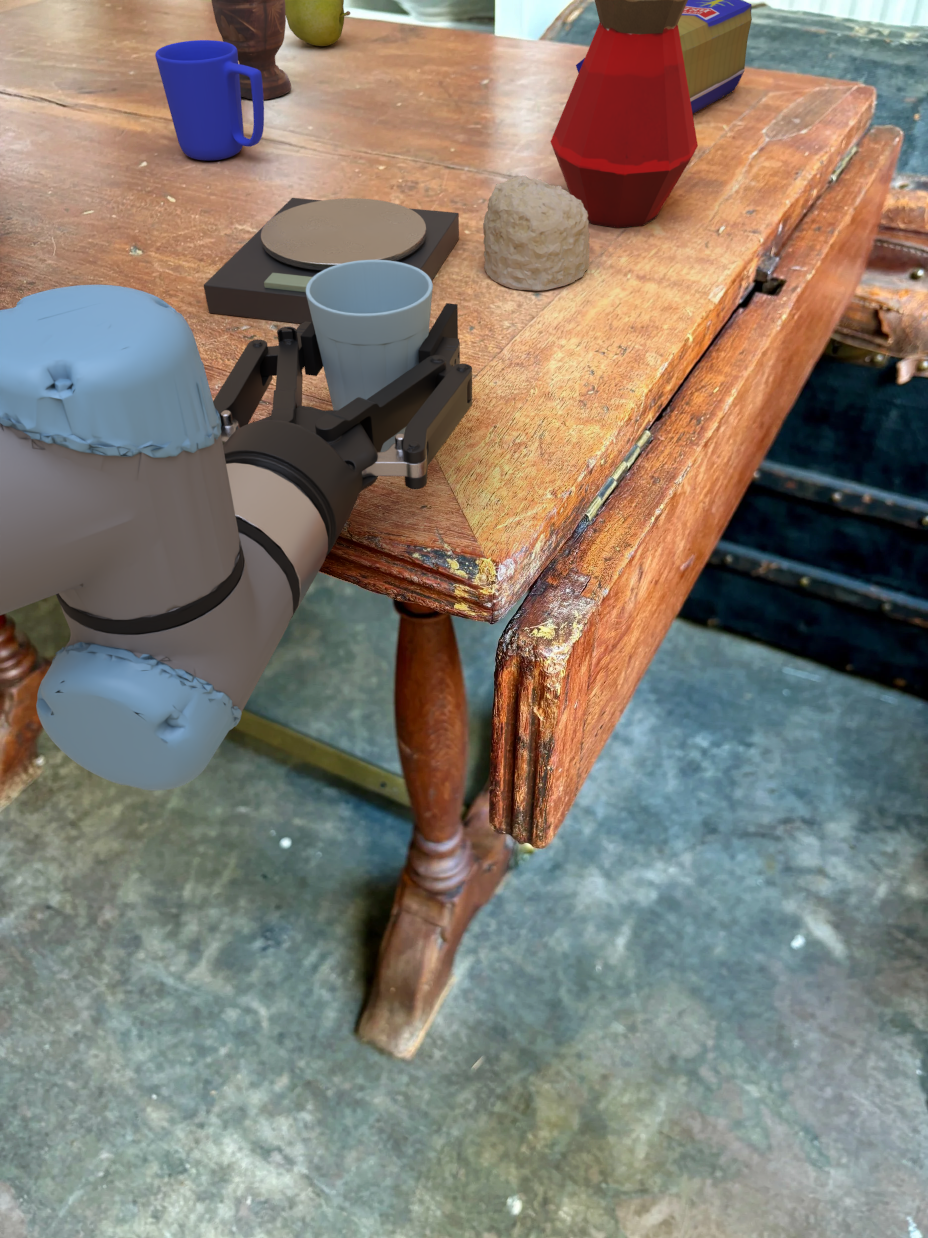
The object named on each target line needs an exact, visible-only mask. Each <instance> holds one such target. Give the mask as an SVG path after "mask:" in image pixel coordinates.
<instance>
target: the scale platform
mask: <svg viewBox="0 0 928 1238" xmlns="http://www.w3.org/2000/svg"><path fill="white" fill-rule="evenodd" d="M409 208H410V207H409ZM409 208H408V207H407V206H404V205H401V204H398V203H395V202H390V201H386V200H379V199H373V198H362V197H361V198H358V197H357V198H354V197H353V198H352V197H349V198H348V197H346V198H332V199H323V201H317V202H311V203H307V204H303V205H299V206H296V207H293V208H291V209H288V210H285V211H283V212H281V213H279V214H277V215H276V216H274V215H273V216H274V217H273V216H272V217H273V218H272V217H271V218H270V219H268V221H266V223H265V224H264V225H263V226H264V227H263V226H262V227H263V229H262V231H261V240H262V245H263V247H264V249H265V251H266V252H267V253H268V254H269V255H271V256H272V257H273V258H275V259H277V260H279V261H281V262H284V263H286V264H289V265H292V266H296V267H301V268H306V269H313V270H325V269H327V268H330V267H332V266H335V265H338V264H342V263H347V262H353V261H360V260H388V261H397V260H400V259H402V258H404V257H406V256H408V255H410V254H411V253H413V252H415V251H416V250H417V249H418V248H419V247H420V246H421V245H422V244H423V242H424V240H425V238H426V224H425V222H424V220H423V219H422V217H421V216H420V215H418V214H417V213H416V212H414V211H413V210H411V209H412V208H410V209H409Z"/></svg>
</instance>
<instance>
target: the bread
mask: <svg viewBox="0 0 928 1238" xmlns="http://www.w3.org/2000/svg"><path fill="white" fill-rule="evenodd" d="M752 6H753V5H752V3H750V2H747V1H745V0H688V1H687V4H686V6H685V8H684V10H683V13H682V15H681V17H680V20H679V22H678V29H679V35H680V41H681V47H682V53H683V59H684V65H685V71H686V77H687V83H688V89H689V95H690V102H691V108H692V114H693V115H694V114H695V113H698V112H699V111H701V110H703V109H704V108H706V107H708V106H710V105H712V104H713V103H715V102H717V101H719V100H720V99H722V98H724V97H726V96H728V95H729V94H731V93H733V92H734V91H735V90H736V88H737V87H738V85H739V83H740V81H741V79H742V77H743V75H744V72H745V70H746V69H745V68H746V56H747V48H748V42H749V41H748V40H749V34H750V29H751V26H752V21H753V18H752ZM584 59H585V57H583V58H582V59H581V60H580V61H579V62H578V63H576V64H575V68H576V70H577V73H578V74H579V71H580V69H581V66H582V64H583V62H584ZM732 91H733V92H732ZM730 92H731V93H730ZM727 94H728V95H727ZM725 95H726V96H725ZM723 96H724V97H723ZM718 99H719V100H718ZM709 104H710V105H709ZM707 105H708V106H707Z"/></svg>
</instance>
